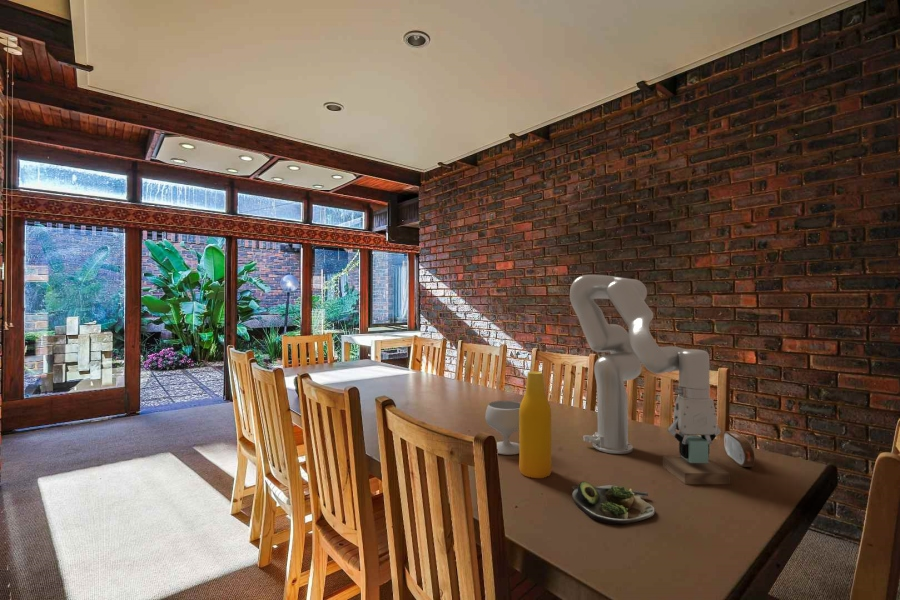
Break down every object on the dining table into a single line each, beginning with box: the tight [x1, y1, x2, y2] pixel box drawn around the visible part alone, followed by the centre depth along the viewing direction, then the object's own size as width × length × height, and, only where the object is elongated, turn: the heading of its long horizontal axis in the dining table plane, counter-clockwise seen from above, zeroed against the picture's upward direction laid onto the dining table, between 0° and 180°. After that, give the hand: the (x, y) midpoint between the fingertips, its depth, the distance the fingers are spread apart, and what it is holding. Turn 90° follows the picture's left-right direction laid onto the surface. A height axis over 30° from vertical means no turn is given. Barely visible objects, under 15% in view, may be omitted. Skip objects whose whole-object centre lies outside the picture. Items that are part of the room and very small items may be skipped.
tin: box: [722, 430, 756, 468], centre depth 129 cm, size 15×3×8 cm, turn 168°
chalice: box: [484, 400, 521, 456], centre depth 141 cm, size 14×14×15 cm
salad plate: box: [571, 481, 656, 525], centre depth 102 cm, size 19×18×5 cm
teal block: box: [680, 435, 709, 463], centre depth 120 cm, size 5×5×6 cm
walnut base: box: [662, 456, 731, 485], centre depth 120 cm, size 12×12×3 cm
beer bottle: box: [518, 371, 552, 479], centre depth 122 cm, size 9×9×29 cm
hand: (694, 456), depth 120 cm, fingers closed on teal block, 5 cm apart
